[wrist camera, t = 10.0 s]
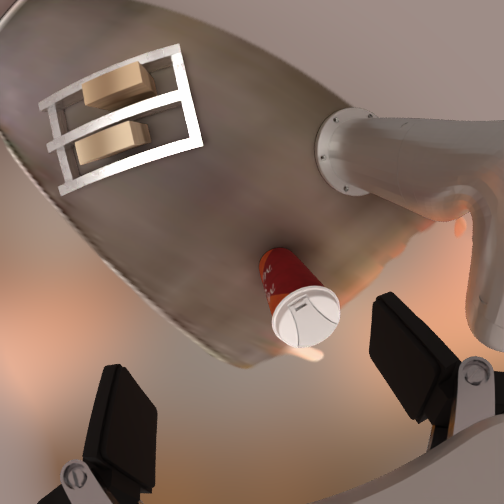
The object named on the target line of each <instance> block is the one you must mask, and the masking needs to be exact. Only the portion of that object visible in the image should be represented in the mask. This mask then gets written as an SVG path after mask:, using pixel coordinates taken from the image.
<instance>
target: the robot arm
mask: <svg viewBox="0 0 504 504" xmlns="http://www.w3.org/2000/svg"><path fill="white" fill-rule="evenodd" d="M333 119H334V120H335V121H333ZM321 156H322V159H320V158H321ZM315 158H316V163H317V166H318V169H319V171H320V173H321V175H322V177H323V178H324V179H325V181H326V182H327V183H328V184H329V185H330V186H331V187H332V188H334V189H335V190H337V191H339V192H341V193H343V194H345V195H350V196H362V195H367V194H369V193H372V194H374V195H377V196H379V197H381V198H384V199H386V200H388V201H390V202H393V203H395V204H397V205H399V206H402V207H404V208H406V209H408V210H410V211H412V212H414V213H417V214H419V215H421V216H423V217H425V218H428V219H430V220H433V221H438V222H447V221H452V220H455V219H457V218H460V217H462V216H463V215H465V214H467V213H468V212H471V215H472V220H473V236H472V241H473V246H472V247H473V248H472V257H471V265H470V273H469V280H468V286H467V293H466V303H465V304H466V305H465V310H466V319H467V322H468V325H469V328H470V330H471V331H472V333H473V334H474V336H475V337H476V338H477V339H478V340H479V341H480V342H481V343H483V344H484V345H485V346H487V347H489V348H491V349H494V350H496V351H500V352H504V120H498V121H455V120H439V119H420V118H378V117H377V116H376V115H375V114H373V113H372V112H370V111H368V110H365V109H361V108H345V109H341V110H338V111H336V112H335V113H333V114H331V115H330V116H329V117H328V118H327V119H326V120H325V121H324V123H323V124H322V125H321V127H320V129H319V131H318V134H317V137H316V141H315ZM344 187H345V188H344ZM369 354H370V357H371V359H372V361H373V362H374V364H375V365H376V367H377V368H378V370H379V371H380V373H381V374H382V375H383V377H384V379H385V380H386V381H387V383H388V385H389V386H390V388H391V389H392V391H393V392H394V394H395V395H396V397H397V398H398V400H399V401H400V403H401V405H402V406H403V408H404V409H405V411H406V412H407V414H408V415H409V417H410V418H411V419H412V420H414V419H415V420H416V421H417V422H418V424H419V423H421V422H423V421H424V420H426V419H429V421H430V422H431V424H432V428H431V433H430V438H429V442H428V447H427V451H426V453H425V454H423V455H421V456H419V457H418V458H416V459H414V460H412V461H410V462H408V463H407V464H405V465H403V466H401V467H399V468H397V469H395V470H394V471H391V472H389V473H387V474H385V475H383V476H381V477H379V478H376V479H374V480H372V481H370V482H367V483H365V484H363V485H360V486H358V487H355V488H353V489H350V490H348V491H345V492H342V493H340V494H337V495H334V496H331V497H328V498H325V499H322V500H319V501H315V502H312V503H308V504H504V372H498V371H493V368H492V366H491V364H490V363H489V362H488V361H487V360H486V359H484V358H481V357H477V356H474V357H469V358H467V359H465V360H464V361H463V362H461V361H460V360H459V359H458V358H457V356H456V355H455V354H454V353H453V352H452V351H451V350H450V349H449V348H448V347H447V346H446V345H445V343H444V342H443V341H442V340H441V339H440V338H439V337H438V336H437V335H436V334H435V333H434V332H433V331H432V330H431V329H430V328H429V327H428V326H427V325H426V324H425V323H424V322H423V321H422V320H421V319H420V318H418V317H417V316H416V315H415V314H414V313H413V312H412V311H411V310H410V309H409V308H408V307H407V306H406V305H405V304H404V303H403V302H402V301H401V300H400V299H399V298H398V297H397V296H396V295H395V294H394V293H392V292H388V293H385V294H382V295H380V296H378V297H377V298H376V301H375V302H373V308H372V323H371V336H370V346H369ZM156 433H157V410H156V407H155V406H154V405H153V403H152V402H151V401H150V400H149V398H148V397H147V396H146V394H145V393H144V392H143V390H142V389H141V388H140V387H139V385H138V384H137V383H136V381H135V380H134V378H133V377H132V376H131V374H130V373H129V371H128V370H127V369H126V368H125V367H122V366H121V365H120V364H114V365H107V366H105V367H104V370H103V373H102V376H101V380H100V383H99V387H98V391H97V394H96V398H95V402H94V406H93V410H92V414H91V418H90V422H89V427H88V432H87V436H86V441H85V446H84V451H83V461H81V460H77V459H76V460H71V461H69V462H67V463H66V464H65V465H64V466H63V468H62V470H61V474H60V480H61V483H62V484H61V485H59V486H58V487H57V488H56V489H54V490H53V491H52V492H50V493H49V494H48V495H46V496H45V497H44V498H42V499H41V500H40V501H39V502H38V503H37V504H143V502H142V501H141V500H140V493H152V488H153V487H154V486H155V460H156Z"/></svg>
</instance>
